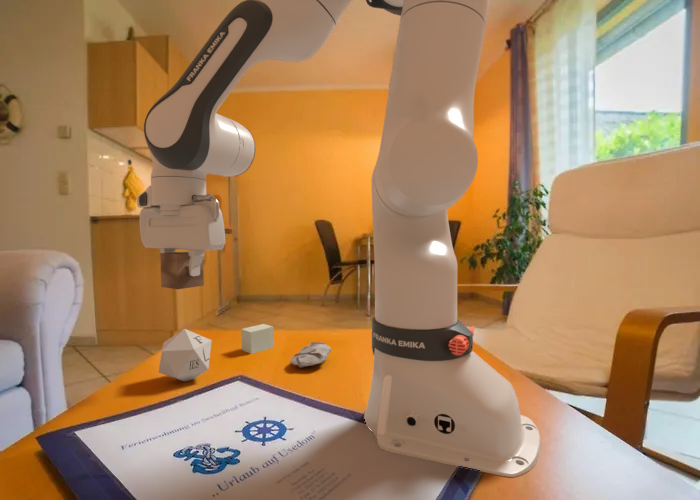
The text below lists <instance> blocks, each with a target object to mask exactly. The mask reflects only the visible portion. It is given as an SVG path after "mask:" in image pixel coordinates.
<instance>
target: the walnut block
mask: <svg viewBox="0 0 700 500" xmlns="http://www.w3.org/2000/svg"><path fill="white" fill-rule="evenodd" d="M159 255H160V259H159V260H160V283H161V288H166V289H173V290H183V289H190V288H195V287H203V286H204V285H205V282H204V278H205V277H204V276H205V275H204V259H203V260H202V263H201V265H200V275H198V276H188V275H186V266H189V262H190V258H191V256H189V253H188V251H175V252H172V253H160V252H159Z"/></svg>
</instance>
